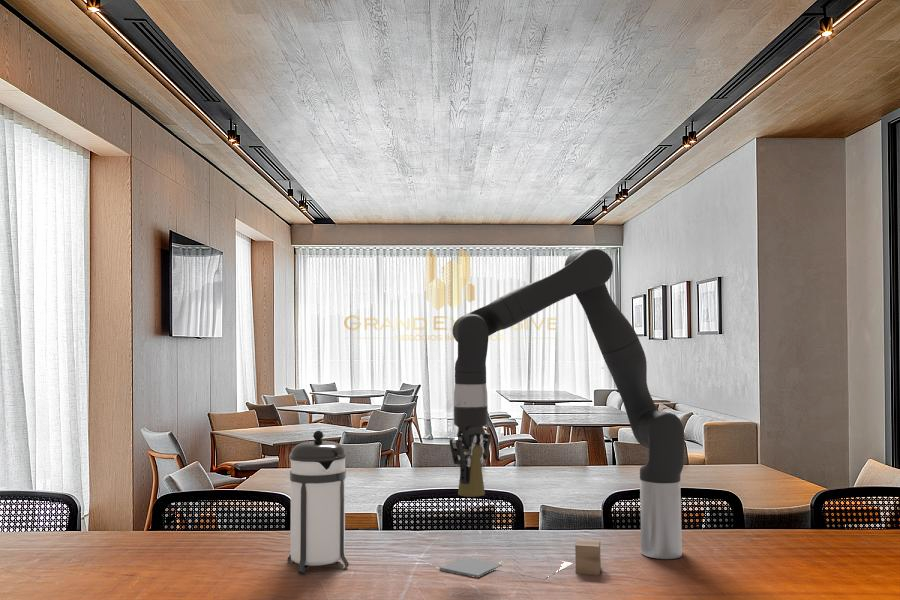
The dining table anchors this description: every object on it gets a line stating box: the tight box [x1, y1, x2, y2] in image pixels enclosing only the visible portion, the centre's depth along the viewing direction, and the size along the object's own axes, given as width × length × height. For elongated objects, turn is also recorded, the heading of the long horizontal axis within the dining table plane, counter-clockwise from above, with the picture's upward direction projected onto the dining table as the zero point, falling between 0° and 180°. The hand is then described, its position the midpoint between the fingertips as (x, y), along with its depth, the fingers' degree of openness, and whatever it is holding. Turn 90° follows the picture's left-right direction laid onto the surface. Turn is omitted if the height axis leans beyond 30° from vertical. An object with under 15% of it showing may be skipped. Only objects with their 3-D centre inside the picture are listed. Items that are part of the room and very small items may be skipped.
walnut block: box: [574, 538, 601, 575], centre depth 167 cm, size 5×5×6 cm
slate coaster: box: [439, 556, 502, 578], centre depth 168 cm, size 10×10×1 cm
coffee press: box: [287, 430, 350, 576], centre depth 173 cm, size 17×16×30 cm
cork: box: [457, 444, 486, 498], centre depth 169 cm, size 6×6×11 cm
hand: (471, 481), depth 169 cm, fingers closed on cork, 4 cm apart
